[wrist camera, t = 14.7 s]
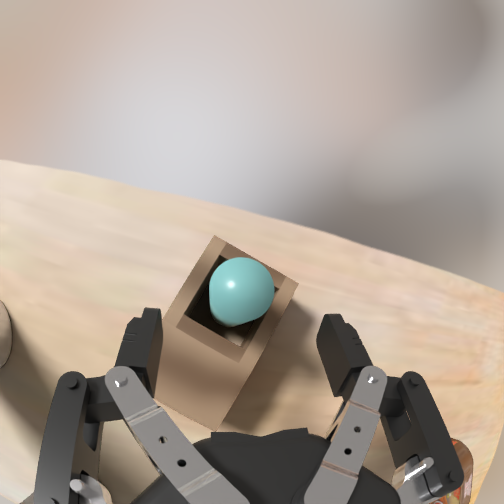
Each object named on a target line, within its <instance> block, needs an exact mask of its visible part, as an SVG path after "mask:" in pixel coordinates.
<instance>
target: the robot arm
mask: <svg viewBox="0 0 504 504" xmlns="http://www.w3.org/2000/svg"><path fill="white" fill-rule="evenodd" d="M316 344H317V348H318V351H319V354H320V357H321V360H322V363H323V365H324V368H325V371H326V374H327V377H328V380H329V383H330V386H331V389H332V392H333V395H334V397H339V396H342V397H343V401H342V403H341V405H340V407H339V409H338V411H337V414H336V416H335V418H334V420H333V422H332V424H331V426H330V428H329V430H328V431H327V433H326V435H325V436H324V438H323V437H321V436H318V435H314V434H308V430H307V428H299V429H289V430H283V431H279V432H276V433H273V434H270V435H266V436H262V437H259V436H253V435H247V434H242V433H237V432H211V438H207V439H203V440H200V441H198V442H196V443H194V444H191V443H190V442H189V440H188V439H187V438H186V437H185V436H184V434H183V433H182V432H181V431H180V430H179V428H178V427H177V426H176V425H175V423H174V422H173V421H172V419H171V418H170V417H169V416H168V414H167V413H166V412H165V410H164V409H163V408H162V407H161V406H158V405H157V404H156V403H155V402H154V400H153V399H152V398H154V396H155V389H156V382H157V375H158V369H159V363H160V357H161V351H162V345H163V327H162V318H161V310H160V309H158V308H144V311H143V314H142V318H136V317H134V318H133V319H132V320H131V321H130V322H129V323H128V324H127V327H126V330H125V334H124V337H123V341H122V343H121V346H120V350H119V353H118V356H117V360H116V363H115V366H114V368H112V369H110V370H109V371H108V372H107V374H106V375H104V376H101V377H95V378H85V377H84V375H82V374H81V373H79V372H75V371H71V372H67V373H65V374H63V375H62V376H61V377H60V379H59V381H58V384H57V387H56V390H55V394H54V397H53V401H52V404H51V408H50V412H49V416H48V420H47V424H46V428H45V432H44V437H43V441H42V446H41V451H40V457H39V462H38V468H37V475H36V482H35V490H34V504H112V500H111V495H110V493H109V491H108V490H107V489H106V488H105V487H104V486H103V485H102V484H100V483H99V482H98V469H99V458H100V448H101V440H102V432H103V425H104V422H105V421H113V420H121V419H123V421H124V422H125V424H126V426H127V427H128V429H129V430H130V432H131V433H132V435H133V437H134V438H135V440H136V441H137V443H138V444H139V446H140V447H141V449H142V450H143V452H144V453H145V455H146V456H147V458H148V459H149V461H150V462H151V463H152V465H153V466H154V467H155V469H156V470H157V471H158V473H159V474H160V476H159V477H158V478H157V479H156V480H155V481H154V482H153V483H152V484H151V485H150V486H149V487H147V488H146V489H145V490H144V491H143V492H142V493H141V494H140V495H139V496H138V497H137V498H136V499H135V500H134V501H133V502H131V503H130V504H429V503H431V502H434V501H436V500H438V499H440V498H442V497H443V496H445V495H447V494H449V493H451V492H453V491H455V490H456V489H458V488H459V487H460V486H461V485H462V483H463V481H464V472H463V469H462V466H461V463H460V461H459V458H458V455H457V453H456V450H455V448H454V445H453V443H452V440H451V438H450V435H449V433H448V431H447V428H446V426H445V424H444V421H443V419H442V417H441V415H440V412H439V410H438V408H437V406H436V404H435V401H434V399H433V397H432V395H431V393H430V391H429V389H428V387H427V385H426V383H425V380H424V379H423V377H422V376H421V375H420V374H418V373H416V372H412V371H409V372H406V373H404V375H403V376H402V377H401V378H398V377H390V376H386V374H385V372H384V371H383V370H382V369H380V368H378V367H376V366H373V364H372V362H371V360H370V358H369V355H368V353H367V351H366V349H365V347H364V345H362V341H361V339H359V335H358V333H357V331H356V330H355V329H354V328H353V327H352V326H351V325H350V324H349V323H345V322H344V320H343V318H342V316H341V314H325V315H324V317H323V320H322V323H321V326H320V329H319V331H318V334H317V339H316ZM11 345H12V329H11V323H10V319H9V316H8V313H7V310H6V308H5V306H4V305H3V303H2V302H1V300H0V368H1V367H2V366H3V365H4V364H5V363H6V361H7V359H8V357H9V354H10V350H11ZM406 411H407V412H406ZM407 413H408V415H407ZM408 416H409V417H408ZM379 418H380V419H381V422H382V425H383V428H384V431H385V434H386V437H387V441H388V444H389V447H390V450H391V453H392V457H393V460H394V463H395V467H396V470H395V472H394V474H393V480H392V483H391V485H390V484H389V483H387V482H386V481H384V480H383V479H381V478H380V477H378V476H377V475H375V474H374V473H373V472H371V471H370V470H368V469H367V468H365V467H364V466H363V465H362V464H363V461H364V459H365V456H366V454H367V451H368V449H369V446H370V444H371V441H372V438H373V436H374V433H375V430H376V427H377V424H378V421H379ZM409 419H410V420H409ZM410 421H411V422H410Z"/></svg>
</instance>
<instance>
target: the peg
mask: <svg viewBox="0 0 504 504" xmlns="http://www.w3.org/2000/svg"><path fill="white" fill-rule="evenodd" d="M209 296H210V312H211V315H212V317H213V319H214V320H215V321H216V322H217V323H218V324H220V325H222V326H225V327H234V326H237V325H240V324H243V323H246V322H249V321H252V320H255V319H257V318H259V317H260V316H262V315H263V314H264V313H265V312H266V311H267V310H268V309H269V307H270V305H271V303H272V301H273V298H274V283H273V279H272V277H271V275H270V273H269V272H268V270H267V269H266V268H265V267H264V266H263V265H262V264H261V263H259V262H257V261H255V260H253V259H250V258H245V257H237V258H233V259H229V260H227V261H225V262H224V263H222V264H221V265H220V266H219V267H218V268H217V269H216V270H215V272H214V273H213V275H212V277H211V280H210V285H209Z"/></svg>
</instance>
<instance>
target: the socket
mask: <svg viewBox="0 0 504 504" xmlns="http://www.w3.org/2000/svg"><path fill="white" fill-rule="evenodd" d="M237 257H245V258H250V259H253V260H255V261H257V262H259V263H261V264H262V265H263V266H264V267H265V268H266V269H267V270H268V272H269V273H270V275H271V277H272V279H273V283H274V298H273V301H272V303H271V305H270V307H269V309H268V310H267V311H266V312H265V313H264V314H263V315H262V316H260V317H259V318H257V319H255V321H254V323H253V325H252V326H251V328H250V330H249V332H248V334H247V335H246V337H245V339H244V341H243V343H242V344H241V346H240V347H239V346H238V345H236V344H234V343H232V342H230V341H229V340H227V339H225V338H223V337H221V336H220V335H218V334H216V333H214V332H213V331H211V330H209V329H207V328H206V327H204V326H202V325H201V324H199V323H197V322H196V321H194V320H192V319H191V318H189V316H190V314H191V312H192V311H193V309H194V307H195V306H196V304H197V302H198V300H199V299H200V297H201V295H202V294H203V292H204V290H205V289H206V287H207V285H208V284H209V282H210V280H211V277H212V275H213V273H214V272H215V270H216V269H217V268H218V267H219V266H220V265H221V264H222V263H224V262H225V261H227V260H229V259H233V258H237ZM298 284H299V283H297V282H295V281H293V280H292V279H290V278H288V277H286V276H285V275H283V274H281V273H279V272H278V271H276V270H274V269H272V268H271V267H269V266H267V265H265V264H264V263H262V262H260V261H258V260H257V259H255V258H253V257H251V256H250V255H248V254H246V253H245V252H243V251H241V250H239V249H238V248H236V247H234V246H232V245H231V244H229V243H227V242H225V241H224V240H222V239H220V238H218V237H217V236H215V235H214V236H213V238H212V240H211V241H210V243H209V244H208V246H207V247H206V249H205V251H204V252H203V254H202V255H201V257H200V259H199V260H198V262H197V263H196V265H195V267H194V268H193V270H192V271H191V273H190V275H189V276H188V278H187V280H186V281H185V283H184V284H183V286H182V288H181V289H180V291H179V293H178V294H177V296H176V298H175V299H174V301H173V303H172V304H171V306H170V308H169V309H168V311H167V313H166V314H165V316H164V318H163V319H162V327H163V345H162V351H161V357H160V363H159V369H158V375H157V382H156V389H155V396H154V399H156V400H158V401H159V402H161V403H163V404H164V405H166V406H168V407H169V408H171V409H173V410H175V411H177V412H178V413H180V414H182V415H184V416H186V417H188V418H189V419H191V420H193V421H195V422H197V423H199V424H201V425H203V426H205V427H207V428H209V429H211V430H213V431H215V432H216V431H217V429H218V427H219V426H220V424H221V423H222V421H223V419H224V418H225V416H226V414H227V413H228V411H229V409H230V408H231V406H232V404H233V403H234V401H235V399H236V398H237V396H238V394H239V393H240V391H241V389H242V387H243V386H244V384H245V382H246V380H247V379H248V377H249V375H250V373H251V372H252V370H253V368H254V366H255V365H256V363H257V361H258V359H259V358H260V356H261V354H262V352H263V350H264V348H265V347H266V345H267V343H268V341H269V339H270V338H271V336H272V334H273V332H274V330H275V328H276V326H277V324H278V323H279V321H280V319H281V317H282V315H283V313H284V311H285V309H286V307H287V305H288V304H289V302H290V300H291V298H292V296H293V294H294V292H295V290H296V288H297V286H298Z"/></svg>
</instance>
